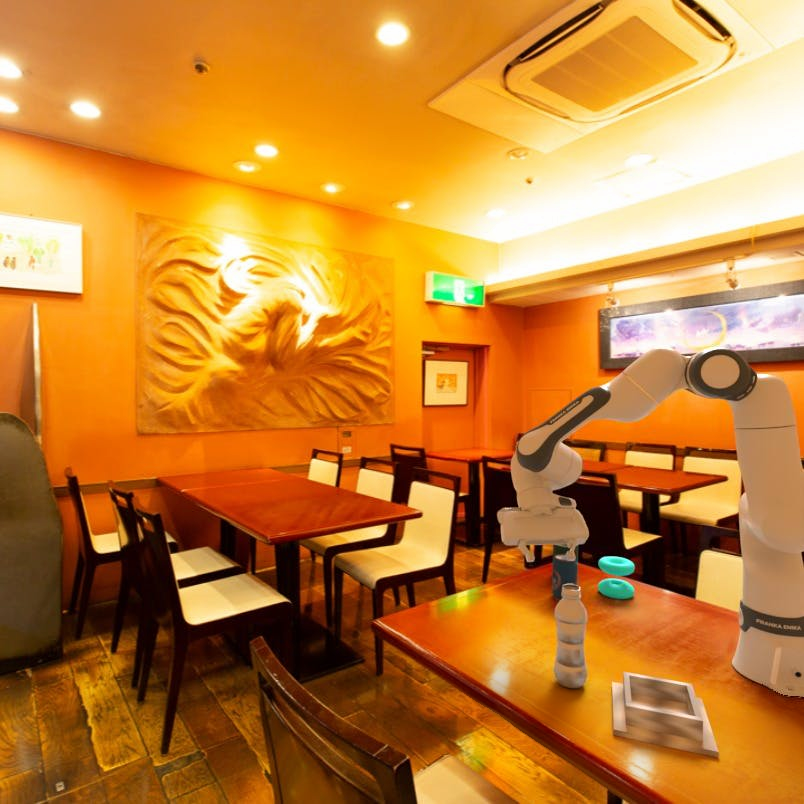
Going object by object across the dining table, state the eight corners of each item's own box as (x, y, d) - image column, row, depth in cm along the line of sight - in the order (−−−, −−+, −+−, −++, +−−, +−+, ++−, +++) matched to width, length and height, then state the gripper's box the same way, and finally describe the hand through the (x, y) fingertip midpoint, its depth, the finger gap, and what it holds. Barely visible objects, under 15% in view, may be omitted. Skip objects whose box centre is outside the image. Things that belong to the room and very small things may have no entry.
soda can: (548, 593, 156) (548, 553, 155) (570, 593, 156) (571, 553, 156) (557, 603, 149) (558, 561, 148) (581, 602, 149) (582, 560, 149)
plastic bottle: (594, 686, 107) (595, 588, 107) (572, 696, 103) (573, 596, 103) (568, 671, 113) (569, 579, 112) (546, 681, 109) (547, 585, 108)
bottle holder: (701, 703, 101) (701, 680, 101) (718, 757, 86) (719, 731, 86) (612, 686, 107) (612, 664, 107) (613, 734, 92) (614, 709, 92)
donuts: (642, 563, 153) (616, 567, 149) (642, 597, 153) (615, 602, 149) (616, 553, 162) (591, 557, 158) (616, 585, 162) (590, 590, 159)
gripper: (498, 501, 126) (509, 554, 116) (581, 499, 127) (599, 552, 118) (493, 515, 130) (503, 567, 121) (573, 513, 132) (590, 565, 122)
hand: (551, 560), depth 119 cm, fingers open, 8 cm apart
